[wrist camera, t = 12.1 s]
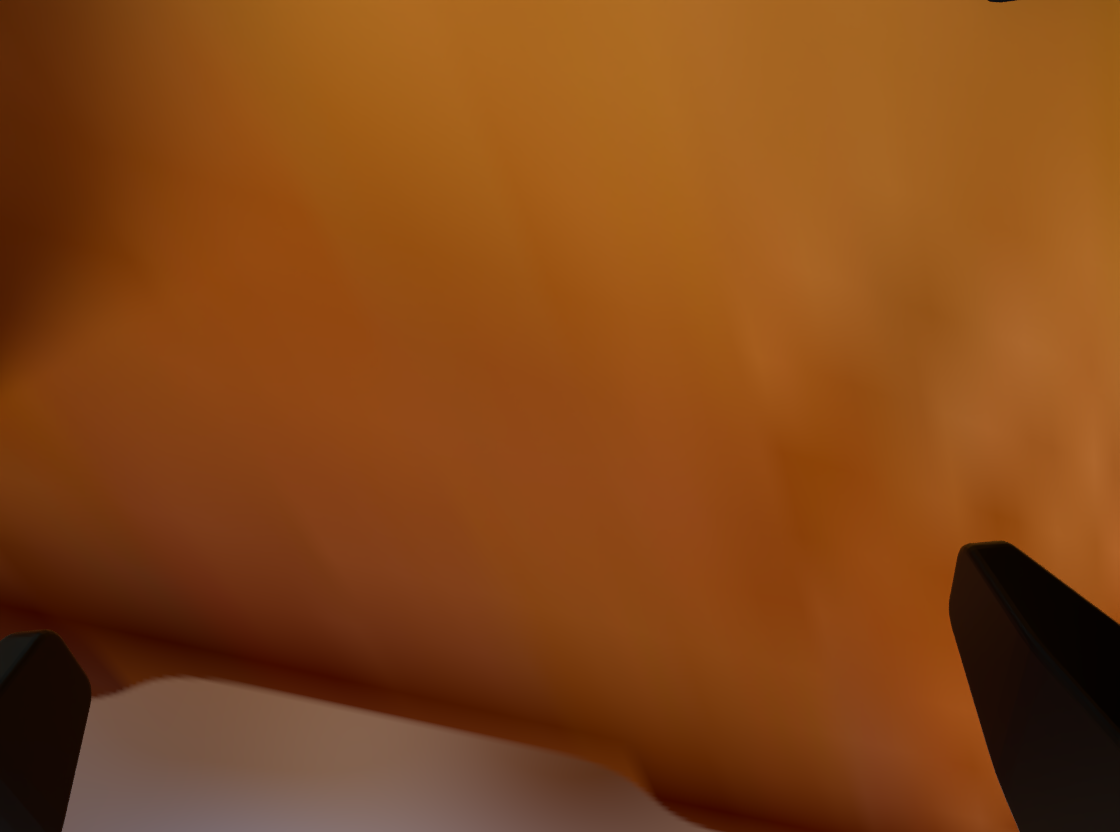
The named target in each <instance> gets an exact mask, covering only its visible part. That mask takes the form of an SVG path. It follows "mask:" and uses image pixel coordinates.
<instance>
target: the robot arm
mask: <svg viewBox="0 0 1120 832" xmlns="http://www.w3.org/2000/svg"><path fill="white" fill-rule="evenodd" d="M988 1H990V2H1007V1H1015V0H988ZM949 615H950V621H951V626H952V629H953V633H954V636H955V640H956V643H957V646H958V650H959V653H960V656H961V660H962V663H963V667H964V670H965V673H966V677H967V680H968V683H969V687H970V690H971V694H972V697H973V700H974V704H975V707H976V710H977V714H978V717H979V721H980V724H981V727H982V731H983V734H984V737H985V741H986V744H987V748H988V751H989V754H990V757H991V760H992V763H993V766H994V769H995V773H996V775H997V778H998V780H999V783H1000V785H1001V788H1002V790H1003V793H1004V796H1005V798H1006V800H1007V803H1008V805H1009V807H1010V810H1011V812H1012V814H1013V817H1014V819H1015V822H1016V824H1017V826H1018V829H1019V831H1020V832H1120V624H1118V623H1117V622H1116V621H1114V620H1113V619H1112V618H1110V617H1109V616H1108V615H1106V614H1105V613H1104V612H1102V611H1101V610H1100V609H1098V608H1097V607H1096V606H1094V605H1093V604H1092V603H1090V602H1089V601H1088V600H1086V599H1085V598H1084V597H1082V596H1081V595H1080V594H1078V593H1077V592H1076V591H1074V590H1073V589H1072V588H1070V587H1069V586H1068V585H1066V584H1065V583H1064V582H1062V581H1061V580H1060V579H1058V578H1057V577H1056V576H1054V575H1053V574H1052V573H1050V572H1049V571H1048V570H1046V569H1045V568H1044V567H1042V566H1041V565H1040V564H1038V563H1037V562H1036V561H1034V560H1033V559H1032V558H1030V557H1029V556H1028V555H1026V554H1025V553H1024V552H1022V551H1021V550H1020V549H1018V548H1017V547H1016V546H1014V545H1012V544H1010V543H1008V542H1005V541H991V542H980V543H969V544H966V545H964V546H963V547H962V548H961V549H960V551H959V553H958V557H957V562H956V567H955V573H954V578H953V583H952V589H951V594H950V600H949ZM90 703H91V685H90V682H89V679H88V677H87V675H86V673H85V672H84V670H83V669H82V667H81V666H80V664H79V663H78V661H77V660H76V658H75V657H74V655H73V654H72V652H71V651H70V649H69V648H68V646H67V645H66V643H65V642H64V641H63V639H62V638H61V636H60V635H59V634H57V633H56V632H54V631H52V630H47V629H45V630H34V631H24V632H16V633H13V634H10V635H8V636H6V637H5V638H4V639H2V640H1V641H0V832H62V828H63V824H64V820H65V816H66V811H67V807H68V802H69V798H70V793H71V789H72V785H73V780H74V775H75V771H76V766H77V762H78V757H79V753H80V749H81V744H82V740H83V735H84V731H85V726H86V722H87V717H88V713H89V708H90Z"/></svg>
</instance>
